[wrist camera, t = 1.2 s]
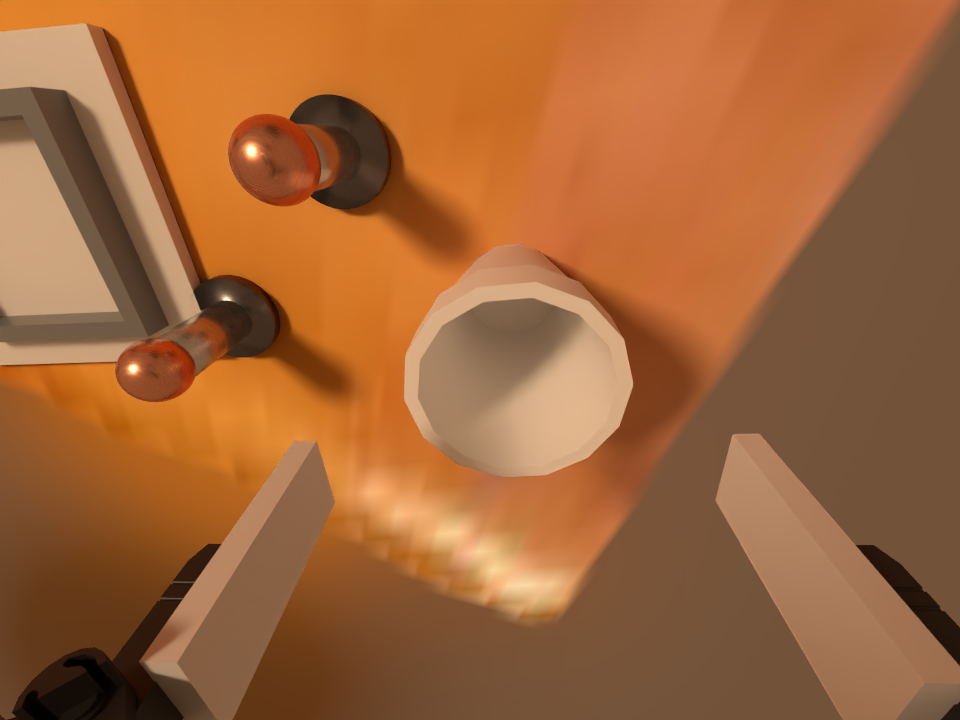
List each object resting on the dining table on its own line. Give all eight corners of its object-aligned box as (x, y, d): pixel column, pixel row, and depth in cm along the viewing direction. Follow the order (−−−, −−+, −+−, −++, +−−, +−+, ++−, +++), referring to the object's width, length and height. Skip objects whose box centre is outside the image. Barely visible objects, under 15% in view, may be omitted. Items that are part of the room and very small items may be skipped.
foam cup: (427, 325, 30) (379, 440, 19) (468, 197, 26) (438, 246, 15) (548, 366, 32) (572, 499, 20) (606, 250, 27) (678, 334, 16)
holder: (-215, 58, 25) (-302, 49, 22) (101, 27, 23) (49, 13, 20) (-8, 359, 34) (-51, 378, 31) (227, 352, 32) (202, 371, 30)
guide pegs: (184, 317, 31) (58, 388, 22) (325, 69, 23) (216, 30, 15) (257, 365, 33) (165, 449, 24) (411, 149, 25) (359, 157, 16)
